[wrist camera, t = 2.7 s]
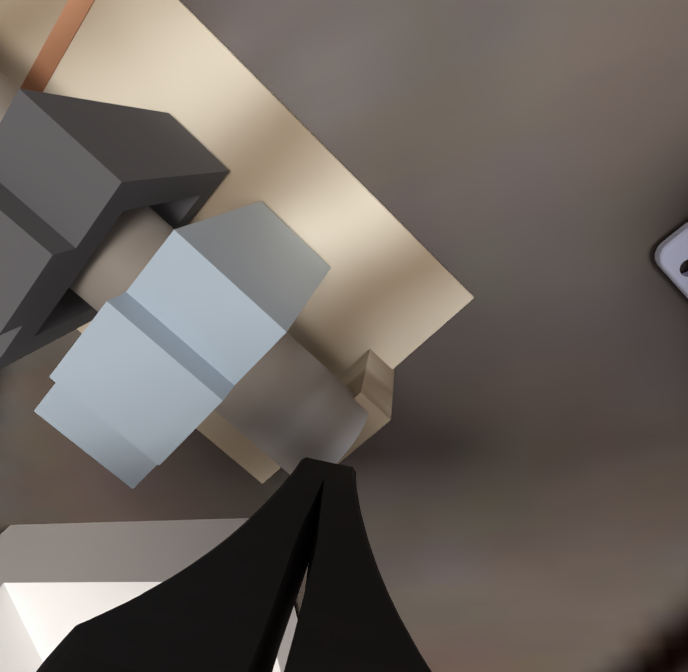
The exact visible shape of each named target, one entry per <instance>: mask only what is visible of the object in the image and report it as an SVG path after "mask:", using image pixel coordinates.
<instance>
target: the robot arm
mask: <svg viewBox="0 0 688 672" xmlns="http://www.w3.org/2000/svg"><path fill="white" fill-rule="evenodd" d="M686 260H688V222H687V223H685V224H684V225H683V226H682V227H680V228H679V229H678V230H676V231H675V232H674V233H673V234H671V235H670V236H669V237H668V238H666V239H665V240H664V241H663V242H662V243H661V244H660V245H659V246H658V247H657V250H656V252H655V261H656V263H657V265H658V266H659V267H660V268H661V269H662V270H663V272H664V273H665V274H666V275H667V276H668V277H669V278H670V279H671V281H672V282H673V283H674V284H675V285H676V286H677V287H678V288H679V290H680V291H681V292H682V293H683V294H684V295H685V296H686V297H687V298H688V271H687V272H685V273H680V265H681V264H682V263H683V262H684V261H686ZM308 563H309V565H308ZM307 566H308V572H307V579H306V586H305V593H304V598H303V602H302V605H301V609H300V613H299V617H298V621H297V624H296V628H295V632H294V636H293V640H292V643H291V647H290V651H289V654H288V658H287V662H286V665H285V669H284V672H431V670H430V668H429V667H428V665H427V664H426V662H425V661H424V659H423V657H422V656H421V654H420V653H419V651H418V649H417V647H416V645H415V644H414V642H413V640H412V638H411V636H410V635H409V633H408V631H407V629H406V627H405V626H404V624H403V622H402V620H401V618H400V616H399V614H398V612H397V610H396V608H395V606H394V604H393V602H392V600H391V598H390V596H389V593H388V591H387V589H386V587H385V584H384V582H383V580H382V577H381V575H380V572H379V570H378V567H377V564H376V562H375V559H374V556H373V553H372V550H371V547H370V544H369V541H368V537H367V534H366V530H365V526H364V523H363V519H362V515H361V511H360V506H359V500H358V495H357V487H356V471H355V470H354V468H353V467H349V466H344V465H340V464H335V463H331V462H326V461H321V460H317V459H312V458H308V457H305V458H304V459H302V460H301V461H300V462H299V464H298V465H297V467H296V468H295V469H294V471H293V472H292V473H291V475H290V476H289V477H288V478H287V480H286V481H285V482H284V483H283V484H282V485H281V487H280V488H279V489H278V490H277V491H276V492H275V493H274V494H273V495H272V496H271V497H270V498H269V500H268V501H267V502H266V503H265V504H264V505H263V506H262V507H261V508H260V509H259V510H258V511H257V512H256V513H254V514H253V515H252V516H251V517H250V518H249V519H248V520H247V521H246V522H245V523H244V524H243V525H242V526H240V527H239V528H238V529H237V530H236V531H235V532H233V533H232V534H231V535H230V536H229V537H227V538H226V539H225V540H224V541H222V542H221V543H220V544H219V545H217V546H216V547H215V548H213V549H212V550H211V551H209V552H208V553H207V554H205V555H204V556H202V557H201V558H199V559H198V560H196V561H195V562H194V563H192V564H191V565H189V566H188V567H186V568H185V569H183V570H182V571H180V572H179V573H177V574H175V575H174V576H172V577H171V578H169V579H167V580H165V581H163V582H162V583H160V584H158V585H156V586H155V587H153V588H151V589H149V590H148V591H146V592H144V593H142V594H141V595H139V596H137V597H135V598H133V599H131V600H130V601H128V602H126V603H124V604H122V605H119V606H117V607H115V608H113V609H111V610H109V611H107V612H104V613H102V614H100V615H98V616H96V617H94V618H92V619H90V620H87V621H85V622H83V623H80V624H78V625H76V626H75V627H74V628H73V629H72V630H71V631H70V632H69V633H68V634H67V636H66V637H65V638H64V639H63V640H62V641H61V642H60V643H59V645H58V646H57V647H56V648H55V649H54V650H53V651H52V653H51V654H50V655H49V656H48V657H47V658H46V659H45V661H44V662H43V663H42V664H41V666H40V667H39V668H38V670H37V671H36V672H273V668H274V664H275V661H276V658H277V655H278V651H279V648H280V645H281V642H282V639H283V636H284V633H285V630H286V628H287V625H288V622H289V619H290V616H291V613H292V610H293V607H294V604H295V601H296V598H297V596H298V593H299V590H300V587H301V584H302V581H303V578H304V575H305V572H306V569H307Z"/></svg>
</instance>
